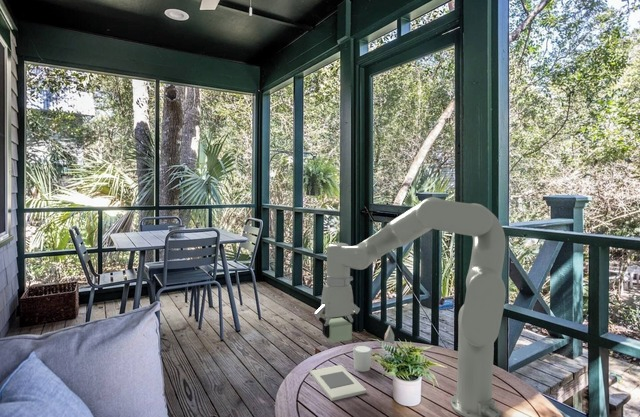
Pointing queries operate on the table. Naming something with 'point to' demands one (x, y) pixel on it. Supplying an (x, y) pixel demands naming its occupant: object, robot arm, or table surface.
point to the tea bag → (389, 335)
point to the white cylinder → (362, 357)
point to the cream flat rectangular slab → (337, 382)
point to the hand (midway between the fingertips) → (337, 334)
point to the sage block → (339, 330)
